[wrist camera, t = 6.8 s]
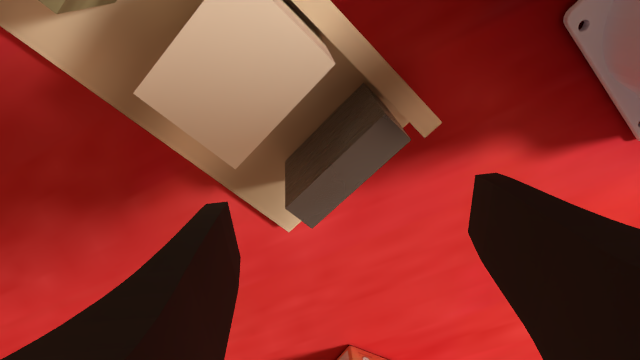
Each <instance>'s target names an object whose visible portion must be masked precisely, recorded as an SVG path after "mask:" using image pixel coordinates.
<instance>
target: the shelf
mask: <svg viewBox="0 0 640 360" xmlns="http://www.w3.org/2000/svg"><path fill="white" fill-rule="evenodd" d="M203 1H204V0H0V26H1V27H3V28H4V29H5V30H7V31H8V32H10V33H11V34H12V35H14V36H15V37H17V38H18V39H19V40H21V41H22V42H24V43H25V44H26V45H28V46H29V47H31V48H32V49H33V50H35V51H36V52H38V53H39V54H40V55H42V56H43V57H45V58H46V59H47V60H49V61H50V62H52V63H53V64H54V65H56V66H57V67H58V68H60V69H61V70H63V71H64V72H65V73H67V74H68V75H70V76H71V77H72V78H74V79H75V80H77V81H78V82H79V83H81V84H82V85H84V86H85V87H86V88H88V89H89V90H91V91H92V92H93V93H95V94H96V95H98V96H99V97H100V98H102V99H103V100H105V101H106V102H107V103H109V104H110V105H112V106H113V107H114V108H116V109H117V110H119V111H120V112H121V113H123V114H124V115H126V116H127V117H128V118H130V119H131V120H133V121H134V122H135V123H137V124H138V125H140V126H141V127H142V128H144V129H145V130H147V131H148V132H149V133H151V134H152V135H154V136H155V137H156V138H158V139H159V140H161V141H162V142H163V143H165V144H166V145H168V146H169V147H170V148H172V149H173V150H174V151H176V152H177V153H179V154H180V155H181V156H183V157H184V158H186V159H187V160H188V161H190V162H191V163H193V164H194V165H195V166H197V167H198V168H200V169H201V170H202V171H204V172H205V173H207V174H208V175H209V176H211V177H212V178H214V179H215V180H216V181H218V182H219V183H221V184H222V185H223V186H225V187H226V188H228V189H229V190H230V191H232V192H233V193H235V194H236V195H237V196H239V197H240V198H242V199H243V200H244V201H246V202H247V203H249V204H250V205H251V206H253V207H254V208H256V209H257V210H258V211H260V212H261V213H263V214H264V215H265V216H267V217H268V218H270V219H271V220H272V221H274V222H275V223H277V224H278V225H279V226H281V227H282V228H284V229H285V230H286V231H288V232H290V231H291V230H292V229H293V228H294V227H295V226H296V225H298V224H299V223H300V222H301V220H300V219H298V218H297V217H296V216H294V215H293V214H292V213H290V212H289V211H288V210H286V209H285V160H286V159H287V158H288V157H289V156H290V155H291V154H292V153H293V152H294V151H295V150H296V149H297V148H299V147H300V146H301V145H302V144H303V143H304V142H305V141H306V140H307V139H308V138H309V137H310V136H311V135H312V134H313V133H314V132H315V131H316V130H317V129H318V128H319V127H320V126H321V125H322V124H323V123H324V122H325V121H326V120H327V119H328V118H329V117H330V116H331V115H332V114H333V113H334V112H335V111H336V110H337V109H338V108H339V107H340V106H341V105H342V104H343V103H344V102H345V101H346V100H347V99H348V98H349V97H350V96H351V95H352V94H353V93H354V92H355V91H356V90H357V89H358V88H359V87H360V86H361V85H362V84H363V83H365V84H366V85H367V86H368V87H369V88H370V90H371V91H372V92H373V93H374V94H375V95H376V96H377V97H378V98H379V99H380V100H381V101H382V102H383V103H384V104H385V105H386V106H387V108H388V109H389V110H390V112H391V113H392V114H393V116H394V117H395V118H396V120H397V121H398V123H399V124H400V125H401V127H402V128H404V127H405V126H406V125H407V124H408V123H409V122H410V123H411V124H412V125H413V126H414V128H415V129H416V130H417V131H418V132H419V133H420V134H421V135H422V136H423V137H424V138H425V137H427V136H428V135H429V134H430V133H431V132H432V131H433V130H434V129H436V128H437V127H438V126H439V125H440V124H441V123H442V121H441V120H440V119H439V118H438V117H437V116H436V115H435V114H434V113H433V112H432V111H431V109H430V108H429V107H428V106H427V105H426V104H425V103H424V102H423V101H422V100H421V99H420V98H419V96H418V95H417V94H416V93H415V92H414V91H413V90H412V89H411V88H410V87H409V86H408V84H407V83H406V82H405V81H404V80H403V79H402V78H401V77H400V76H399V75H398V74H397V72H396V71H395V70H394V69H393V68H392V67H391V66H390V65H389V64H388V63H387V62H386V61H385V59H384V58H383V57H382V56H381V55H380V54H379V53H378V52H377V51H376V50H375V49H374V47H373V46H372V45H371V44H370V43H369V42H368V41H367V40H366V39H365V38H364V37H363V35H362V34H361V33H360V32H359V31H358V30H357V29H356V28H355V27H354V26H353V25H352V24H351V22H350V21H349V20H348V19H347V18H346V17H345V16H344V15H343V14H342V13H341V12H340V10H339V9H338V8H337V7H336V6H335V5H334V4H333V3H332V2H331V1H330V0H285V1H286V2H287V3H288V4H289V5H290V6H291V7H292V8H293V9H294V10H295V11H296V12H297V13H298V14H299V15H300V16H301V17H302V18H303V19H304V20H305V21H306V22H307V23H308V24H309V25H310V26H311V27H312V28H313V29H314V30H315V31H316V32H317V33H318V34H319V35H320V36H321V38H322V39H323V41H324V43H325V45H326V47H327V49H328V51H329V52H330V54H331V56H332V58H333V60H334V62H335V63H336V64H335V65H334V66H333V67H332V68H331V69H330V70H329V71H328V72H327V73H326V74H325V76H324V77H323V78H322V79H321V80H320V81H319V82H318V83H317V84H316V85H315V86H314V87H313V88H312V89H311V90H310V91H309V92H308V93H307V95H306V96H305V97H304V98H303V99H302V100H301V101H300V102H299V103H298V104H297V105H296V106H295V107H294V108H293V109H292V110H291V111H290V112H289V113H288V115H287V116H286V117H285V118H284V119H283V120H282V121H281V122H280V123H279V124H278V125H277V126H276V127H275V128H274V129H273V130H272V131H271V132H270V134H269V135H268V136H267V137H266V138H265V139H264V140H263V141H262V142H261V143H260V144H259V145H258V146H257V147H256V148H255V149H254V150H253V151H252V153H251V154H250V155H249V156H248V157H247V158H246V159H245V160H244V161H243V162H242V163H241V164H240V165H239V166H238V167H237V168H236V169H234V168H233V167H231V166H230V165H229V164H227V163H226V162H225V161H223V160H222V159H221V158H219V157H218V156H217V155H215V154H214V153H213V152H211V151H210V150H208V149H207V148H206V147H204V146H203V145H202V144H200V143H199V142H198V141H196V140H195V139H194V138H192V137H191V136H190V135H188V134H187V133H186V132H184V131H183V130H182V129H180V128H179V127H178V126H176V125H175V124H173V123H172V122H171V121H169V120H168V119H167V118H165V117H164V116H163V115H161V114H160V113H159V112H157V111H156V110H155V109H153V108H152V107H151V106H149V105H148V104H147V103H145V102H144V101H143V100H141V99H140V98H139V97H137V96H136V95H134V94H133V93H134V91H135V90H136V89H137V87H138V86H139V85H140V84H141V82H142V81H143V80H144V78H145V77H146V76H147V74H148V73H149V72H150V70H151V69H152V68H153V66H154V65H155V64H156V63H157V61H158V60H159V59H160V57H161V56H162V55H163V53H164V52H165V51H166V49H167V48H168V47H169V46H170V44H171V43H172V42H173V40H174V39H175V38H176V36H177V35H178V34H179V32H180V31H181V30H182V28H183V27H184V26H185V25H186V23H187V22H188V21H189V19H190V18H191V17H192V15H193V14H194V13H195V11H196V10H197V9H198V8H199V6H200V5H201V4H202V2H203Z"/></svg>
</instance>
